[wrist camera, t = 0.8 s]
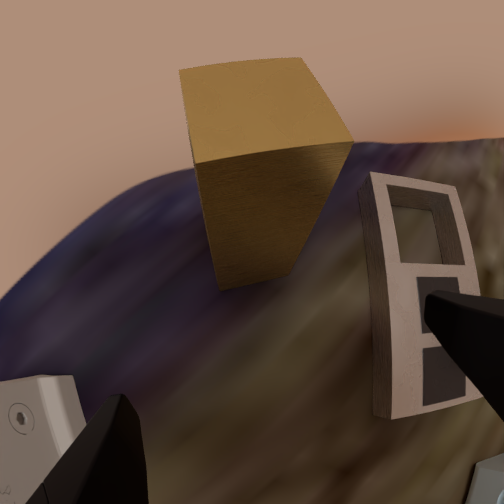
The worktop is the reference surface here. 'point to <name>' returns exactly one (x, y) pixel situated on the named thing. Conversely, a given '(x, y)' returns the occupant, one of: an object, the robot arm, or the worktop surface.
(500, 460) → the pale grey rounded block
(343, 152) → the gold rectangular block
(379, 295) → the rail
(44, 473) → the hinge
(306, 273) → the worktop surface
